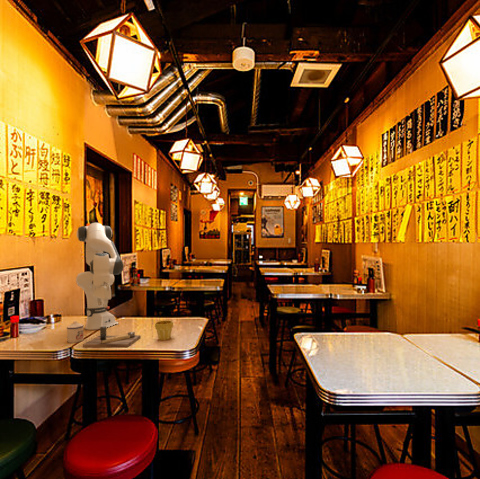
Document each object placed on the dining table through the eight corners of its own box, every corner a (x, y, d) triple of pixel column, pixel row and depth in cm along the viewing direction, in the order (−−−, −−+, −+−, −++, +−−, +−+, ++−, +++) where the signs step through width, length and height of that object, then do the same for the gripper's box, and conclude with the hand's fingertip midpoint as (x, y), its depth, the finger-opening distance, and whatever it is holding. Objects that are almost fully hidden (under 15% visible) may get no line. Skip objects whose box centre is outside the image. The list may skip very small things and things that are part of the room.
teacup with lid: (78, 343, 193) (77, 323, 193) (63, 343, 194) (63, 323, 194) (89, 337, 205) (89, 318, 205) (76, 337, 206) (75, 318, 206)
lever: (133, 335, 200) (132, 321, 200) (135, 336, 196) (135, 322, 197) (99, 342, 187) (99, 327, 187) (101, 343, 184) (101, 328, 184)
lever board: (99, 338, 203) (99, 335, 203) (140, 337, 200) (140, 335, 200) (82, 347, 185) (82, 344, 185) (127, 347, 182) (127, 343, 182)
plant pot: (164, 342, 190) (164, 324, 190) (151, 339, 195) (151, 323, 196) (177, 337, 199) (176, 321, 199) (164, 335, 204) (163, 319, 204)
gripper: (114, 282, 181) (114, 307, 181) (102, 280, 197) (102, 303, 197) (102, 283, 177) (102, 309, 177) (90, 281, 193) (91, 305, 192)
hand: (102, 306), depth 187 cm, fingers open, 8 cm apart
